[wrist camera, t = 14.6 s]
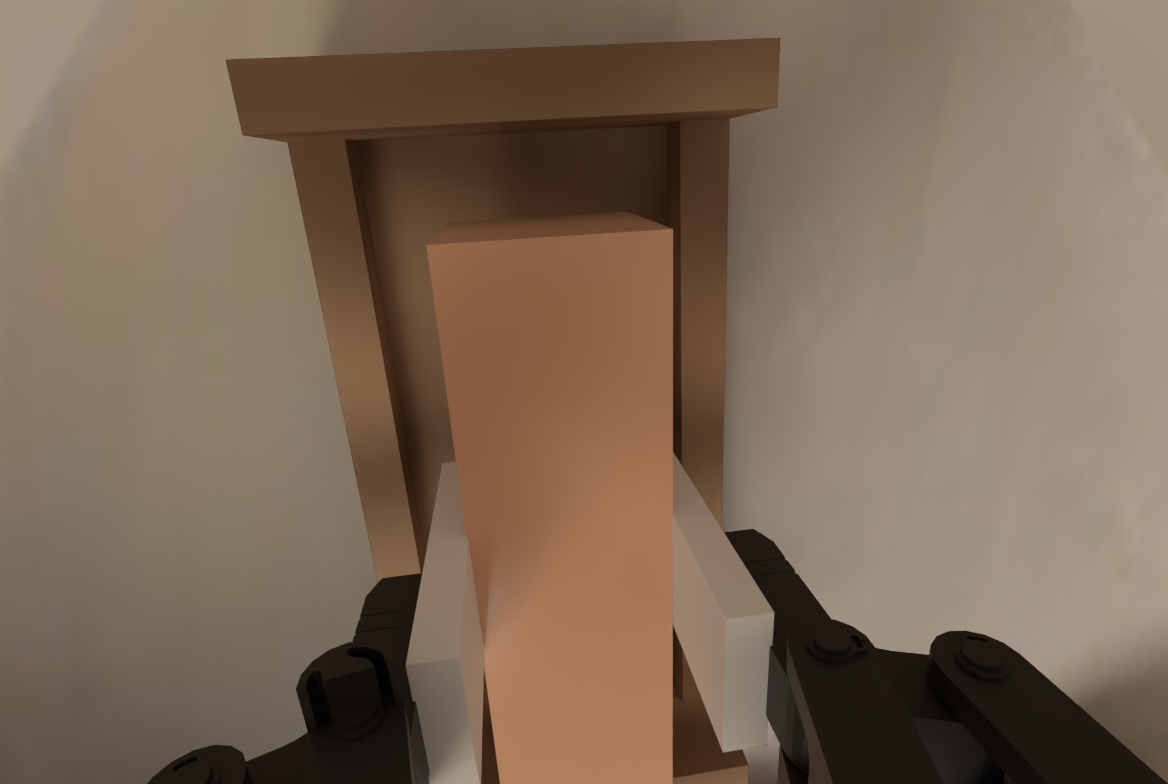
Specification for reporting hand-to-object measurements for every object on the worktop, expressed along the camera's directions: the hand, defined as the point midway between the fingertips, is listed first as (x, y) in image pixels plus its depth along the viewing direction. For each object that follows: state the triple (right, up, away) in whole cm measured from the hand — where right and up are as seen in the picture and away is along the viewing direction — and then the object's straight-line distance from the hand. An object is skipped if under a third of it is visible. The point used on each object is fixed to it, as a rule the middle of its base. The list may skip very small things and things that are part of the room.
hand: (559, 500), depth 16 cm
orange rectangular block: (0, 0, +1) cm, 1 cm away
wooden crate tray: (-1, +1, +4) cm, 4 cm away
